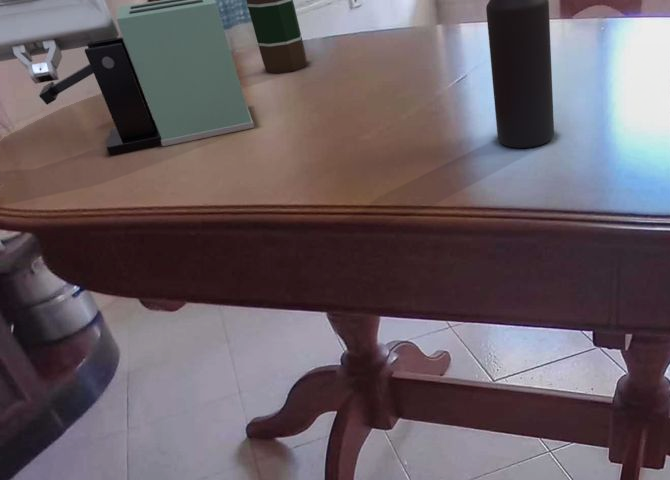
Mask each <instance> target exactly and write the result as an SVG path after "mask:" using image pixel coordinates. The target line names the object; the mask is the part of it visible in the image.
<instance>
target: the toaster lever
mask: <svg viewBox="0 0 670 480" xmlns="http://www.w3.org/2000/svg"><path fill="white" fill-rule="evenodd" d="M111 44H113V43H111ZM111 44H109V45H111ZM91 75H94V73H93V70H92V68H91V66H90V63H88V64H87V65H85V66H83V67H81V68H80V69H78V70H77V71H75V72H73V73H71V74H70V75H67V76H66V77H64V78H62V79H61V80H60V81H58V82H56V83H55V82H54V81H50V82H49V83H48V84H46V85H44V86H43V87H42V89H41V91H40V93H39V95H38V97H39V98H40V99H41V100H42V101H43V102H44V103H45V104H46V105H47V106H48V105H49V104H51V103H52V102H55V101H56V100H57V98H58V96H59V94H60V93H63V92H65V91H67V89H69V88H71V87H73V86H75V85H76V84H78V83H79V82H82V81H83V80H84V79H86V78H88V77H90V76H91Z"/></svg>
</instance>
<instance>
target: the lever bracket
mask: <svg viewBox="0 0 670 480" xmlns="http://www.w3.org/2000/svg"><path fill="white" fill-rule="evenodd" d="M111 43H113V44H111ZM109 44H111V45H109ZM86 47H87V48H84V54H85V56H86V58H87V61H88V64H90V66H91V68H92V70H93V75H94V77H95V80H96V82H97V84H98V87H99V89H100V92H101V94H102V97H103V100H104V103H105V104H106V106H107V109H108V111H109V114H110V116H111V118H112V121H113V123H114V126H115V127H111V128H109V134H108V139H107V144H106V150H107V152H108V154H109V156H110V157H113V156H117V155H121V154H126V153H131V152H136V151H140V150H145V149H150V148H155V147H160V146H162V144H161V136H160V134H159V131H158V128H157V126H156V123H155V120H154V118H153V115H152V112H151V110H150V107H149V104H148V102H147V99H146V97H145V94H144V91H143V89H142V86H141V83H140V81H139V78H138V75H137V73H136V70H135V67H134V65H133V62H132V60H131V57H130V54H129V52H128V49H127V46H126V44H125V41H124V38H123V36H121V37H117V38H114V39H108V40H102V41H96V42H90V43H87V46H86Z"/></svg>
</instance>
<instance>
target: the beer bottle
mask: <svg viewBox="0 0 670 480" xmlns="http://www.w3.org/2000/svg"><path fill="white" fill-rule="evenodd" d="M245 1H246V4H247V9H248V12H249V15H250V19H251V24H252V27H253V31H254V34H255V38H256V42H257V46H258V50H259V52H260V57H261V60H262V63H263V66H264V69H265V71H266V72H267V73H271V74H283V73H292V72H296V71H298V70H301V69H304V68H306V66H307V55H306V50H305V45H304V40H303V37H302V33H301V29H300V24H299V19H298V16H297V12H296V7H295V3H294V0H245Z"/></svg>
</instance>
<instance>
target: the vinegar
mask: <svg viewBox="0 0 670 480" xmlns="http://www.w3.org/2000/svg"><path fill="white" fill-rule="evenodd" d="M485 10H486V22H487V34H488V45H489V56H490V67H491V79H492V88H493V100H494V111H495V122H496V134H497V135H496V136H497V139H498V142H499V143H500V144H501V145H504V146H505V147H508V148H514V149H526V148H527V149H529V148H533V147H540V146H542V145H545V144H546V143H549V142H550V141H551V140H552V139H553V138H554V135H555V121H554V119H555V118H554V97H553V96H554V94H553V73H552V72H553V71H552V70H553V69H552V49H551V48H552V47H551V46H552V45H551V25H550V24H551V22H550V2H549V0H489V1H488V2H487V4H486V7H485Z"/></svg>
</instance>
